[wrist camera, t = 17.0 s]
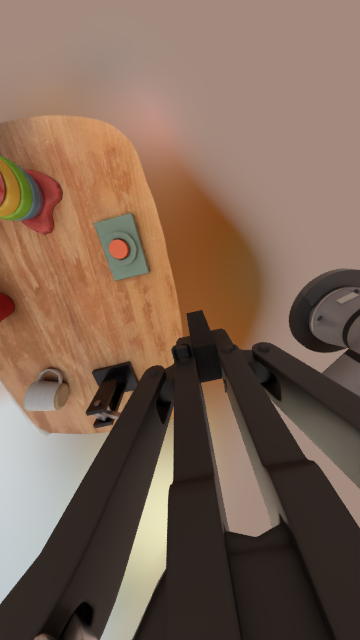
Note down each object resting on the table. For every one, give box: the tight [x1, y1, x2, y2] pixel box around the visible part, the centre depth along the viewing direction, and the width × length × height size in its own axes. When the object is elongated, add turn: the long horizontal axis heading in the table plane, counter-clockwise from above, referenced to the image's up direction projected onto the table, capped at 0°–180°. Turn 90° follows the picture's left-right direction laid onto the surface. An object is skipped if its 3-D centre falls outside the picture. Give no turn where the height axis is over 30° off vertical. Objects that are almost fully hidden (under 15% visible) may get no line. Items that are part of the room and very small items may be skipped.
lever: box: [94, 406, 121, 421], centre depth 41 cm, size 13×6×2 cm, turn 104°
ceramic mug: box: [24, 369, 69, 411], centre depth 51 cm, size 11×8×8 cm
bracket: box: [86, 362, 139, 428], centre depth 48 cm, size 11×9×14 cm
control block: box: [94, 213, 150, 281], centre depth 40 cm, size 12×8×4 cm, turn 13°
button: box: [109, 239, 129, 259], centre depth 38 cm, size 4×4×2 cm
